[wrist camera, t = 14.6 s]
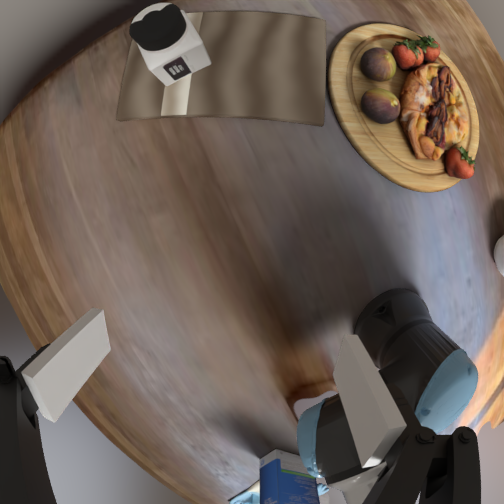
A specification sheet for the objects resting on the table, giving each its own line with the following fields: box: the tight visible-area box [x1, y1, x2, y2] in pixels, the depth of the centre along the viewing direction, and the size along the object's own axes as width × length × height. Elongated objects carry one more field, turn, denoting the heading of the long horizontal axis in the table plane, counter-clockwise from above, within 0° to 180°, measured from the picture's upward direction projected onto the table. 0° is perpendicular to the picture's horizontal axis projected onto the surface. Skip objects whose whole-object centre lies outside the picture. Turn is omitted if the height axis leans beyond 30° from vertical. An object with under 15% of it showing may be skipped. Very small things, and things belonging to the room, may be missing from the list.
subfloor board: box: [116, 11, 326, 127], centre depth 33 cm, size 32×20×2 cm, turn 86°
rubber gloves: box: [229, 480, 329, 504], centre depth 61 cm, size 27×33×6 cm
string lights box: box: [260, 449, 320, 504], centre depth 43 cm, size 13×8×26 cm, turn 55°
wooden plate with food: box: [327, 23, 479, 192], centre depth 31 cm, size 32×32×8 cm
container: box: [129, 3, 211, 86], centre depth 26 cm, size 8×8×13 cm
